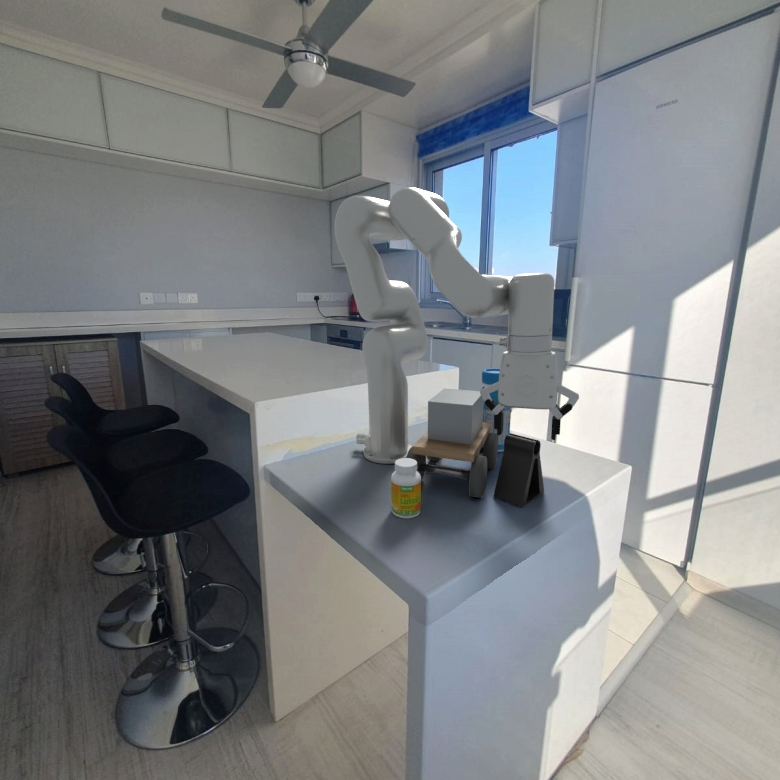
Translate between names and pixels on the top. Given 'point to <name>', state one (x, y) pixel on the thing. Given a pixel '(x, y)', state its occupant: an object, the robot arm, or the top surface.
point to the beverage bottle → (488, 379)
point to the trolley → (457, 438)
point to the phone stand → (519, 471)
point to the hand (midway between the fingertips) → (526, 435)
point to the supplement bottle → (406, 489)
